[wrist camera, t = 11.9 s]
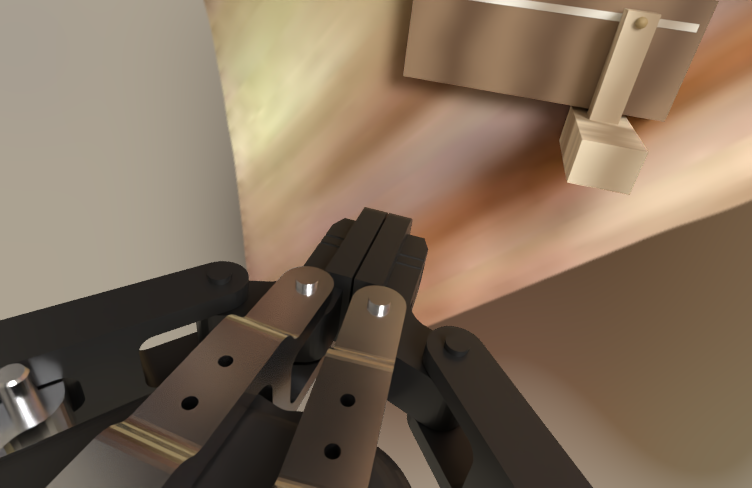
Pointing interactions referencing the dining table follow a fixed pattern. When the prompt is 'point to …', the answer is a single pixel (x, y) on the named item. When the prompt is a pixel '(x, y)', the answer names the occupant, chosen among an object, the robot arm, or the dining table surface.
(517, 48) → the board
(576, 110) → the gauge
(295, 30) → the dining table surface
